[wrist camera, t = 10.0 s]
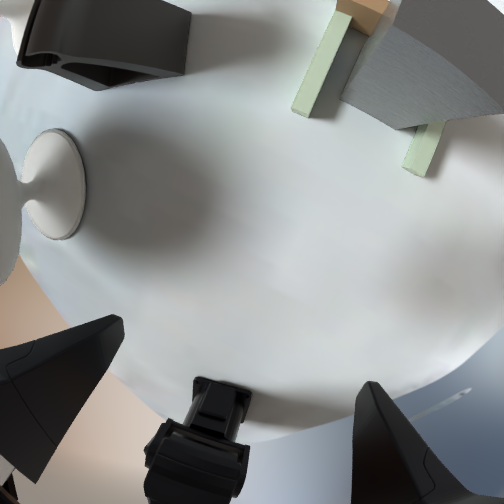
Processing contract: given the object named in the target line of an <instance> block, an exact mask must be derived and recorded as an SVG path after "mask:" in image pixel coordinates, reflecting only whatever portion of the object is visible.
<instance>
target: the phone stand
mask: <svg viewBox="0 0 504 504" xmlns="http://www.w3.org/2000/svg"><path fill="white" fill-rule="evenodd" d="M190 19H191V12H189V11H187V10H184V9H182V8H180V7H177V6H175V5H173V4H170V3H168V2H165V1H163V0H35V1H34V3H33V6H32V9H31V12H30V14H29V17H28V20H27V24H26V27H25V30H24V34H23V37H22V41H21V45H20V49H19V53H18V57H17V62H16V64H17V66H19V67H21V68H27V69H41V70H46V71H49V72H52V73H54V74H57V75H59V76H62V77H64V78H66V79H69V80H71V81H73V82H76V83H78V84H80V85H83V86H85V87H87V88H90V89H92V90H94V91H101V90H105V89H109V88H113V87H118V86H122V85H127V84H132V83H135V82H143V81H149V80H155V79H162V78H169V77H177V76H183V75H184V66H185V57H186V49H187V41H188V33H189V26H190Z"/></svg>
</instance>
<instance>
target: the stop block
mask: <svg viewBox="0 0 504 504" xmlns="http://www.w3.org/2000/svg"><path fill="white" fill-rule="evenodd" d="M340 100H342V101H344V102H346V103H348V104H350V105H352V106H354V107H356V108H358V109H360V110H361V111H363V112H365V113H367V114H369V115H371V116H372V117H374V118H376V119H378V120H380V121H381V122H383V123H385V124H386V125H388V126H390V127H391V128H393V129H395V130H397V129H402V128H407V127H412V126H417V125H422V124H428V123H434V122H440V121H446V120H453V119H460V118H467V117H475V116H484V115H494V114H504V15H503V14H502V13H501V12H500V11H499V10H498V9H497V8H496V7H494V6H493V5H492V4H491V3H490V2H489V1H487V0H390V2H389V4H388V6H387V7H386V9H385V11H384V12H383V14H382V16H381V18H380V19H379V21H378V23H377V24H376V26H375V28H374V30H373V31H372V33H371V35H370V36H369V38H368V40H367V42H366V43H365V45H364V47H363V49H362V50H361V52H360V54H359V57H358V59H357V61H356V64H355V66H354V68H353V70H352V73H351V75H350V77H349V79H348V82H347V84H346V86H345V88H344V91H343V93H342V95H341V97H340Z"/></svg>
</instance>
